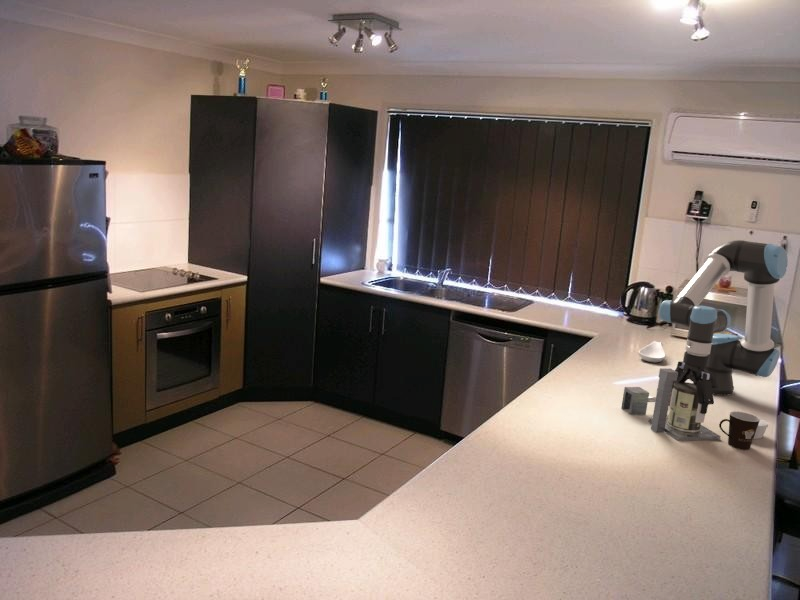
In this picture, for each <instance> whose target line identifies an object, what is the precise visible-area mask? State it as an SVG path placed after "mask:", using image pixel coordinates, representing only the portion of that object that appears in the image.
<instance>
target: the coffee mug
mask: <svg viewBox="0 0 800 600" xmlns="http://www.w3.org/2000/svg"><path fill="white" fill-rule="evenodd" d="M759 418H760V417H758V416H757V415H754V414H753V413H748V412H745V411H744V412H743V411H736V410H735V411H730V412H729V419H728V418H724V419H722V420H721V421H720V422H719V424H718V427H719V428H720V429H719V430H721V432H722V433H724V434H725V435H726V436H727V437H728V438H727V441H728V442H727V444H728V445H729V446H730V447H732V448H735V449H738V450H743V451H748V450H750V449H751V447H752V444H753V440H754V439H753V438H754V435H755V433H756V430H757V427H758V424H759V421H760V419H761V418H760V419H759ZM724 422H728V423H729V424H728V433H727V432H726V431H725V430H724V429H723V427H722V424H723V423H724Z"/></svg>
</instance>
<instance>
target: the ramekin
mask: <svg viewBox="0 0 800 600" xmlns="http://www.w3.org/2000/svg"><path fill="white" fill-rule="evenodd" d="M758 418H759V419H760V421H759V424H758V427H757V430H756V433H755V435H754V438H753V440H760V439H762V438H763V437H764V435H765V432H766V431H767V428H768V426H769V423H768V422H767V421H766V420H764V419H762V418H760V417H758ZM759 438H760V439H759Z"/></svg>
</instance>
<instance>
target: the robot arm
mask: <svg viewBox="0 0 800 600" xmlns="http://www.w3.org/2000/svg"><path fill="white" fill-rule="evenodd" d="M788 264H789V262H788V254H787V251H786V249H785V248H784V247H783V246H781V245H775V244H773V243H763V242H757V241H756V242H754V241H746V240H744V239H743V240H741V239H736V240H732V241H728V242H725V243H722V244H721V245H719V246H717V247H715V248H714V249H712V250H711V251H710V252H709V253H708V254H707V255H706V256H705V258H704V261H703V264H702V266H701V267H700V268H699V269H698V271H697V272H696V273H695V274H694V275H693V277H692V278H691V279H690V280H689V282H688V283H687V284H686V285H685V286H684V288H683V289H682V290H681V291H680V292H679V293H678V294H677V296H676V297H675V298H674V299H673V300H672V299H670V300H669V299H666V300H663V301H662V302H661V303H660V306H659V309H658V317H659V319H660V320H661V321H663V322H667V323H670V324H673V325H679V326H684V327H688V332H687V337H686V343H685V349H684V350H685V351H684V355H683V359H682V361H678V362H677V364H676V368H675V369H674V370H675V371H677V372H678V377H677V381H673V385H672V391H671V401H672V395H673V389H674V383H676V382H687V381H688V380H690V381H691V382H692V383H693V384H695V385H696V388H697V392H698V395H699V398H700V403H698V409H697V414H696V420H695V422H696V423H701V424H702V423H704V422H705V417H706V414H707V412H708V407H709V405H714V403H715V400H714V399H715V398H714V395H719V396H731V395H733V394H734V390H735V387H734V379H733V370H736V371H739V372H741V373H743V372H744V373H746V374H750V375H753V376H754V375H755V376H758V377H762V378H768V377H770V376H771V375H772V374H773V372H774V370H775V369H776V366H777V365H778V362H779V359H780V355H781V354H780V350H779V349H777V348H775V341H773V339H772V338H771V333H772V320H773V309H774V307H773V306H774V297H775V296H774V295H775V285H776V284H778V283H779V282H780V280H781V279H783V278H784V276H786V272H787V268H788ZM729 272H738V273H743V279H744V281H745V282H746V283H747V296H746V297H747V300H746V311H745V312H746V316H745V331H744V333H745V334H744V337H742V338H741V339H740V338H739V335H738V336H736V335H731V334H714V333H717V332H722V331H724V332H725V330H727V329H728V328H729V327H730V325H731V322H732V319H731V318H732V317H731V316H730V314H729V312H727V311H726V310H724V309H718V308H715V307H712V306H707V305H700V304H701V303H702V301H704V300H705V298H706V297H707V295H708V294H709V293H710V292H711V290H712V289H713V288H714V287H715V285H716V284H717V283H718V282H719V280H721V277H722V276H726V275H727V274H729ZM704 399H705V400H704ZM671 401H670V406H669V408H670V407H671Z"/></svg>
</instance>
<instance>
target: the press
mask: <svg viewBox="0 0 800 600" xmlns="http://www.w3.org/2000/svg"><path fill="white" fill-rule="evenodd" d="M677 377H678V372H677V371H675V369H672V368H668V367H667V368H666V367H665V368H662V367H660V368H659V371H658V385H657V390H656V396H655V397H656V401H655V402H654V408H653V413H652V417H649V418H648V421H647V422H648V423H650V425H651V426H650V430H651V431H652V432H654V433H656V434H659V433H665V434H667V435H668V436H670V437H672V438H673V439H675V440H676V441H679V442H680V441H684V442H685V441H714V440H716V441H717V440H718V441H719V440H721V435H720V434H718V433H716V432H714V431H713V430H711V429H709V428H707V427H706V426H704V425H702V424H701V426H700V431H699V432H684V431H680V430H677V429H674V428H672V427H670V426H669V425H668V419H669V417H668V411H669V408H670V406H669V401H670V396H671V391H672V385H673V381H677ZM622 396H623V397H622V401H621V402H622V403H621V407H620V409H621V410H622V411H626V410H627V411H628V415H631V416H643V415H644V416H645V415H646V414H647V409H648V404H649V402H648V398H649V397H650V392H649V391H647V390H646V389H643V388H642V387H640V386H625V387H624V389H623V394H622ZM646 416H647V415H646Z"/></svg>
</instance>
